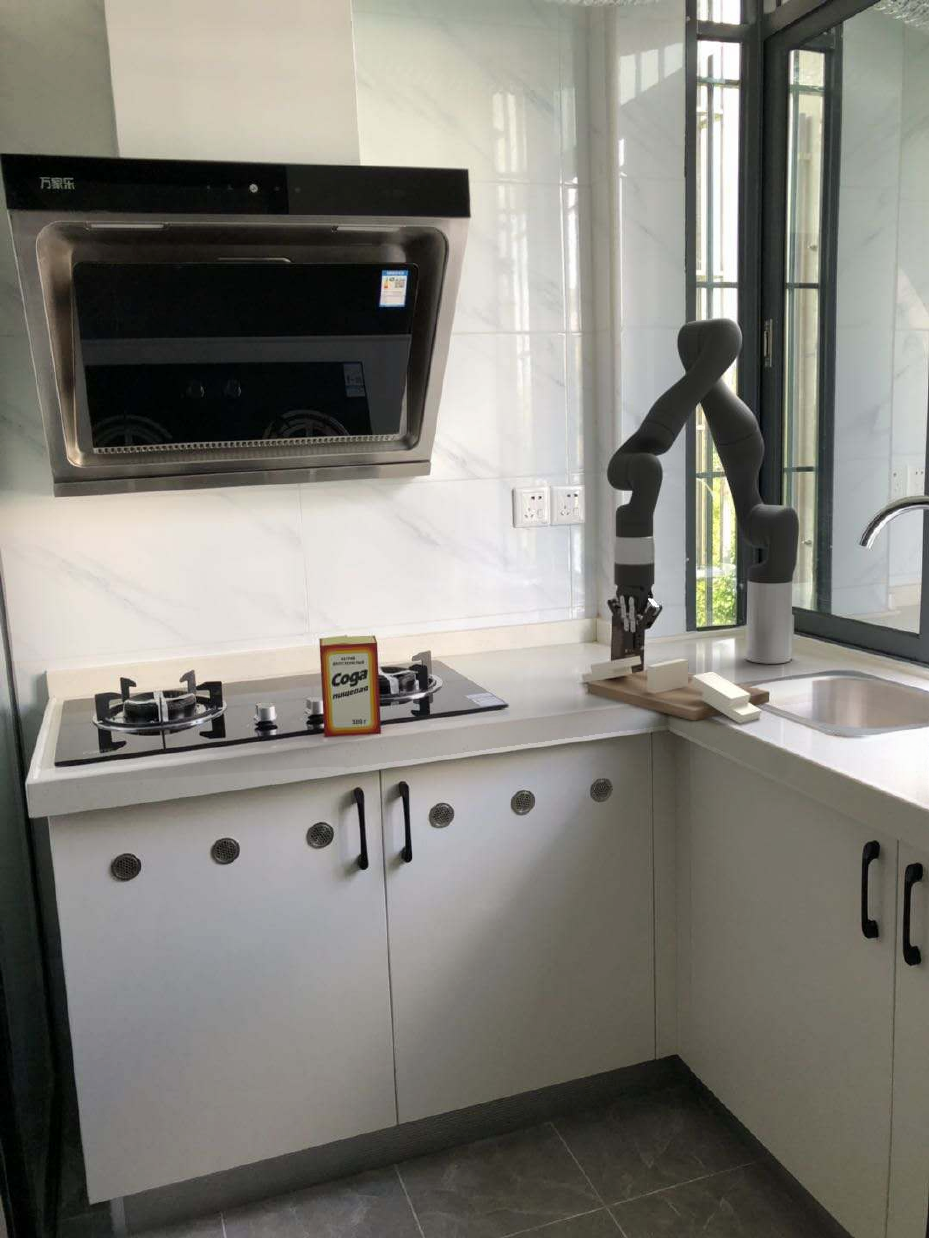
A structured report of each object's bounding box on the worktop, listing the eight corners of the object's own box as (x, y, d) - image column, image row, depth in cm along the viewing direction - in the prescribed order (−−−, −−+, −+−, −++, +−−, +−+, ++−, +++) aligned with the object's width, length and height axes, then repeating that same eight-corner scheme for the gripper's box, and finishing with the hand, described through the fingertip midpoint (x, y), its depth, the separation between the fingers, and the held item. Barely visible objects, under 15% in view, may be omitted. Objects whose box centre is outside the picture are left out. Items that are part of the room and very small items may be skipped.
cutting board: (660, 676, 207) (660, 667, 207) (769, 701, 185) (769, 691, 185) (587, 691, 196) (587, 682, 195) (693, 720, 174) (693, 710, 174)
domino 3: (681, 684, 192) (647, 692, 187) (681, 658, 191) (647, 665, 186) (687, 685, 191) (653, 693, 186) (688, 659, 190) (653, 666, 185)
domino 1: (622, 667, 193) (591, 672, 201) (641, 663, 196) (610, 669, 204) (620, 659, 194) (590, 665, 201) (639, 655, 196) (608, 661, 204)
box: (624, 675, 209) (624, 617, 206) (609, 671, 212) (609, 614, 210) (646, 671, 212) (646, 614, 210) (631, 667, 215) (631, 611, 213)
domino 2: (613, 677, 196) (583, 682, 203) (632, 673, 199) (602, 678, 206) (611, 669, 196) (582, 674, 203) (630, 665, 199) (600, 670, 206)
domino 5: (703, 691, 177) (742, 715, 171) (722, 686, 180) (761, 710, 174) (701, 699, 178) (740, 723, 171) (720, 694, 181) (759, 718, 174)
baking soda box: (378, 723, 178) (374, 633, 175) (381, 733, 171) (377, 640, 169) (324, 726, 176) (319, 636, 174) (324, 737, 170) (319, 643, 167)
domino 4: (692, 675, 179) (731, 698, 172) (712, 671, 182) (750, 694, 175) (690, 683, 180) (728, 707, 173) (709, 679, 182) (748, 702, 176)
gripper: (674, 561, 188) (673, 653, 191) (624, 555, 198) (624, 642, 201) (645, 565, 183) (645, 658, 186) (595, 559, 194) (595, 648, 197)
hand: (634, 650), depth 194 cm, fingers closed
